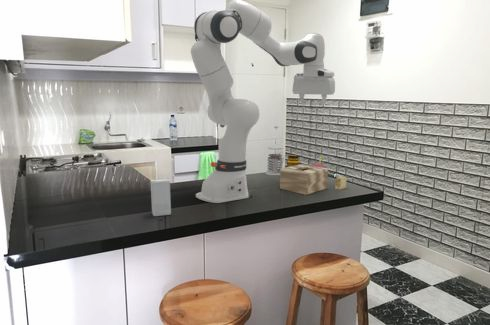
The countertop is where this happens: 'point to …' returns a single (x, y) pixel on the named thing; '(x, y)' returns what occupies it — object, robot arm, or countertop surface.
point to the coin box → (303, 179)
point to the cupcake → (319, 163)
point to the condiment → (292, 160)
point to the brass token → (340, 183)
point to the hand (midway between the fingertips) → (312, 104)
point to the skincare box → (160, 197)
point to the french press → (274, 160)
